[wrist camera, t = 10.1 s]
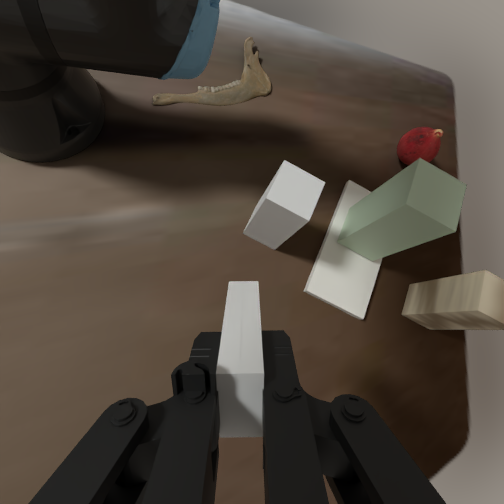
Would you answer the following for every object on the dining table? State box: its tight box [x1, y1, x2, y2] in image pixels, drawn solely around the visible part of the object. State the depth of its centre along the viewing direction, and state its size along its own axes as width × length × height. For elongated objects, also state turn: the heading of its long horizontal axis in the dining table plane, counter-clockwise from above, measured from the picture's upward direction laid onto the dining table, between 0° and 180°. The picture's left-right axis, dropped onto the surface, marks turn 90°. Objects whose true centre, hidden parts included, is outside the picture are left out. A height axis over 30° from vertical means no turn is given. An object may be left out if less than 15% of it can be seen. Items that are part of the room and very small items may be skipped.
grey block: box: [243, 160, 325, 250], centre depth 37 cm, size 5×5×12 cm
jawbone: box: [152, 37, 272, 106], centre depth 46 cm, size 9×20×2 cm, turn 135°
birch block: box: [402, 270, 504, 330], centre depth 39 cm, size 5×5×12 cm
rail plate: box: [304, 180, 382, 320], centre depth 44 cm, size 19×9×1 cm, turn 156°
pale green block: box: [337, 158, 467, 261], centre depth 38 cm, size 6×6×14 cm
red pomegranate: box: [397, 127, 443, 165], centre depth 47 cm, size 6×6×8 cm
